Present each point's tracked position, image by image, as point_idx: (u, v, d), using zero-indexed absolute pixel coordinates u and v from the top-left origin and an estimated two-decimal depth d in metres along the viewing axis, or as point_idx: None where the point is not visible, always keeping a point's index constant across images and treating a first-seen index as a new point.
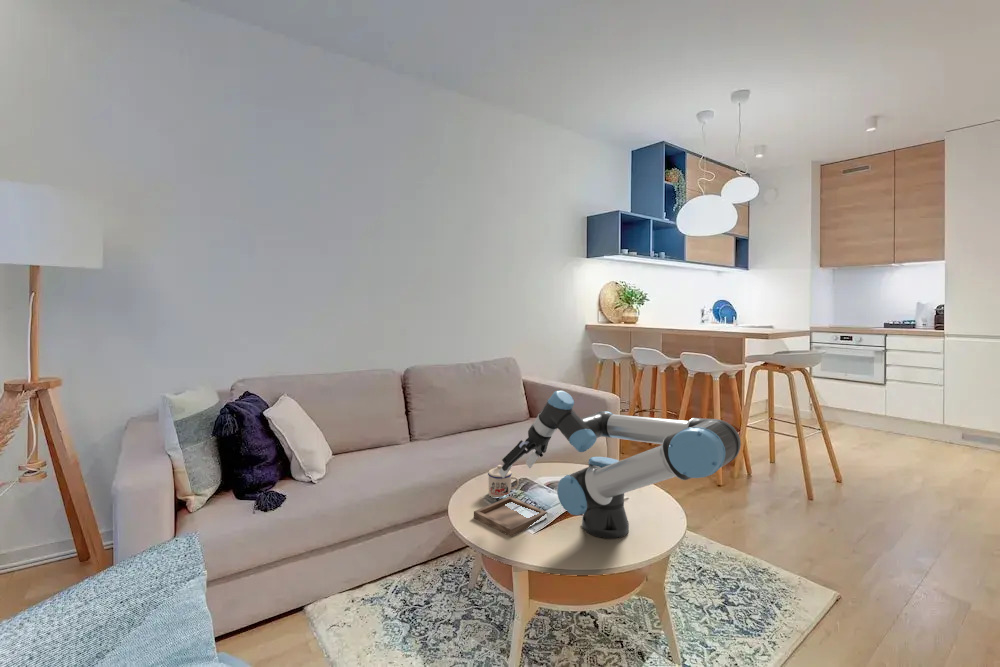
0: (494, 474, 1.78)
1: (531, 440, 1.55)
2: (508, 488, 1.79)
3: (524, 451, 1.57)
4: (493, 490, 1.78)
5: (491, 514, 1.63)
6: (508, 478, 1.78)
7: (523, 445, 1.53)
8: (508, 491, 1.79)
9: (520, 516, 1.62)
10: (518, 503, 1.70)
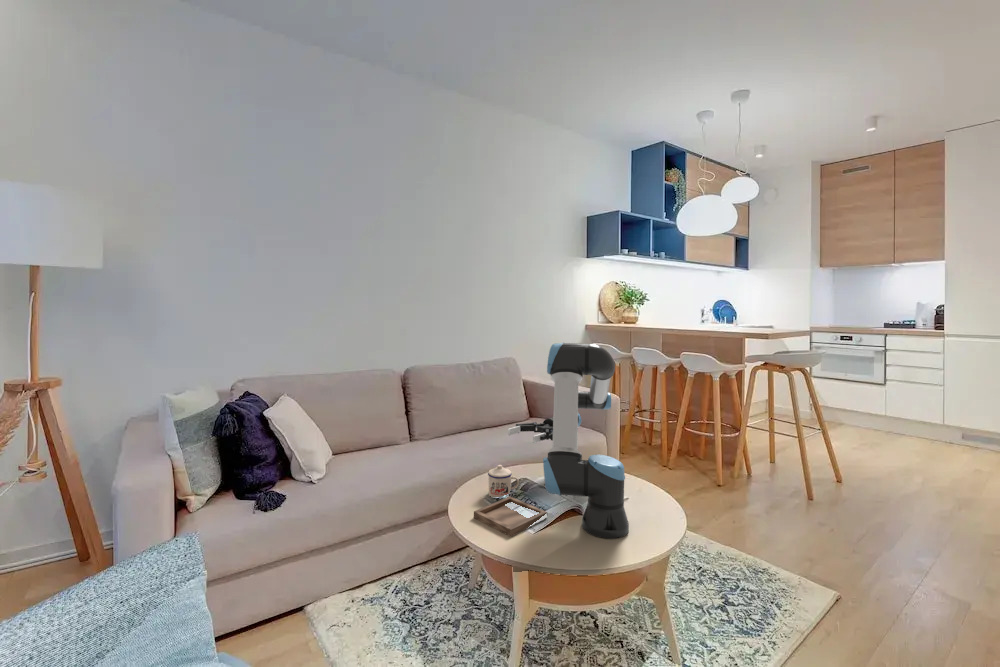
0: (494, 474, 1.78)
1: None
2: (508, 488, 1.79)
3: None
4: (493, 490, 1.78)
5: (491, 514, 1.63)
6: (508, 478, 1.78)
7: None
8: (508, 491, 1.79)
9: (520, 516, 1.62)
10: (518, 503, 1.70)
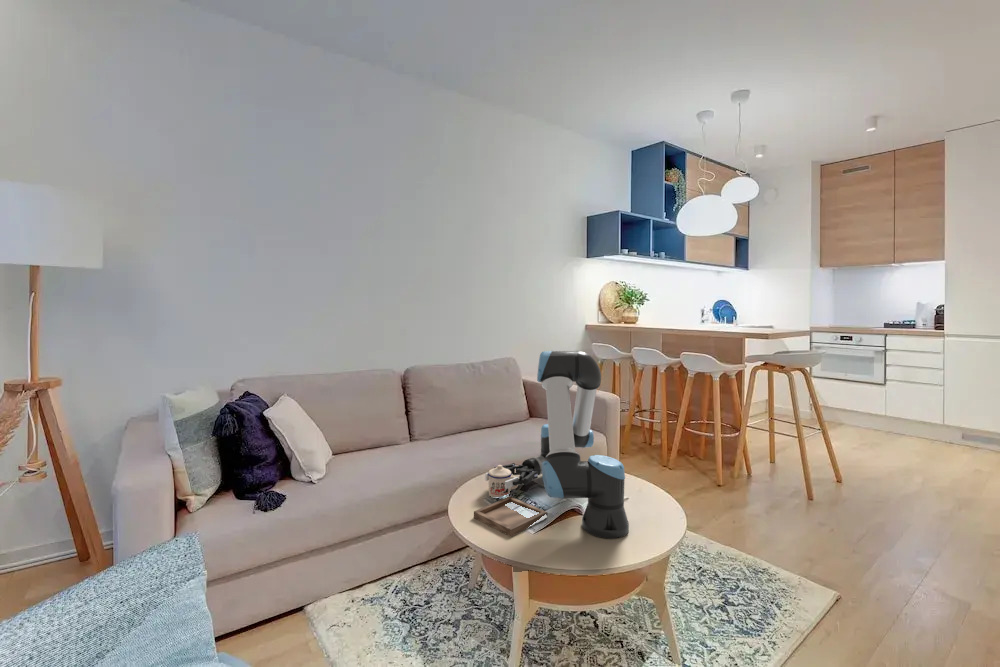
0: (494, 474, 1.78)
1: None
2: (508, 488, 1.79)
3: None
4: (493, 490, 1.78)
5: (491, 514, 1.63)
6: (508, 478, 1.78)
7: None
8: (508, 491, 1.79)
9: (520, 516, 1.62)
10: (518, 503, 1.70)
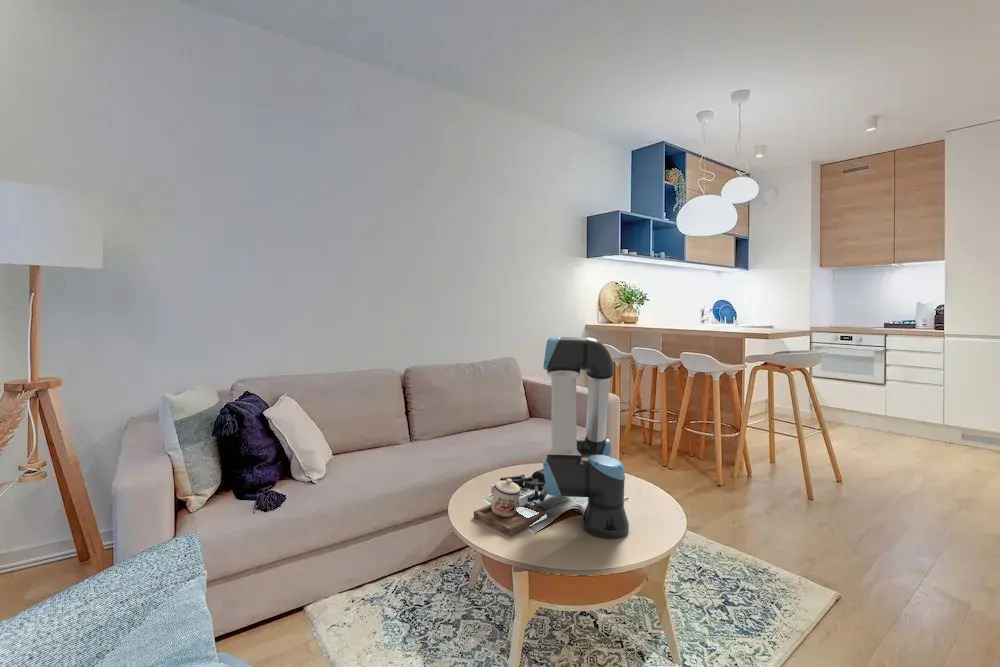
0: (502, 489, 1.60)
1: None
2: (515, 506, 1.61)
3: None
4: (498, 506, 1.60)
5: (491, 514, 1.63)
6: (517, 495, 1.61)
7: None
8: (514, 509, 1.62)
9: (520, 516, 1.62)
10: (518, 503, 1.70)
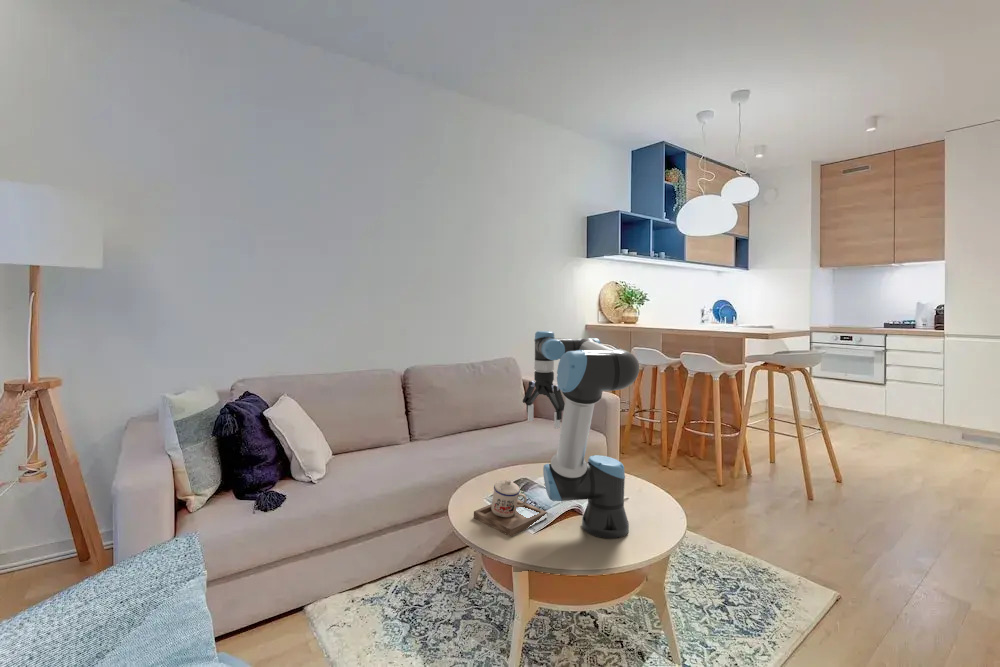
0: (501, 490, 1.59)
1: None
2: (514, 506, 1.61)
3: None
4: (497, 507, 1.60)
5: (491, 514, 1.63)
6: (516, 496, 1.60)
7: None
8: (514, 509, 1.61)
9: (520, 516, 1.62)
10: (518, 503, 1.70)
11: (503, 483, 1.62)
